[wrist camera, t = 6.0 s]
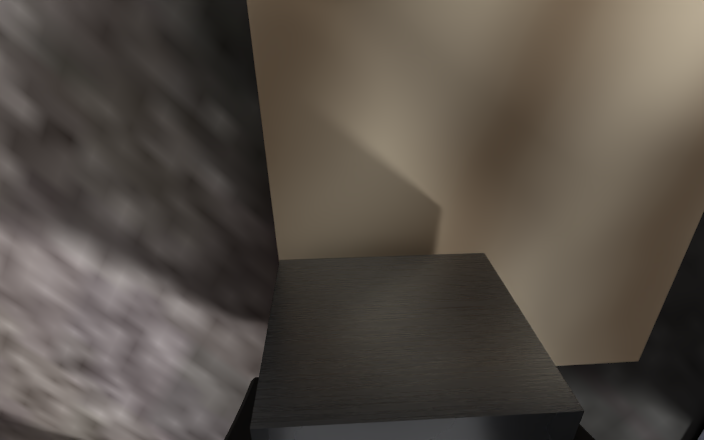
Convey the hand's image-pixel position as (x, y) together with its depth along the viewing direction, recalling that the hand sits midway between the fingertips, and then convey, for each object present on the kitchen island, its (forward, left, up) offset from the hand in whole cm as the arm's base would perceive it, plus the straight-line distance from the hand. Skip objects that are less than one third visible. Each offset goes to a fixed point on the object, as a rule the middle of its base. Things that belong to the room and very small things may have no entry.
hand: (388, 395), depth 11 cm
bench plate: (-4, -3, -4) cm, 6 cm away
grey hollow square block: (0, 0, -2) cm, 2 cm away
